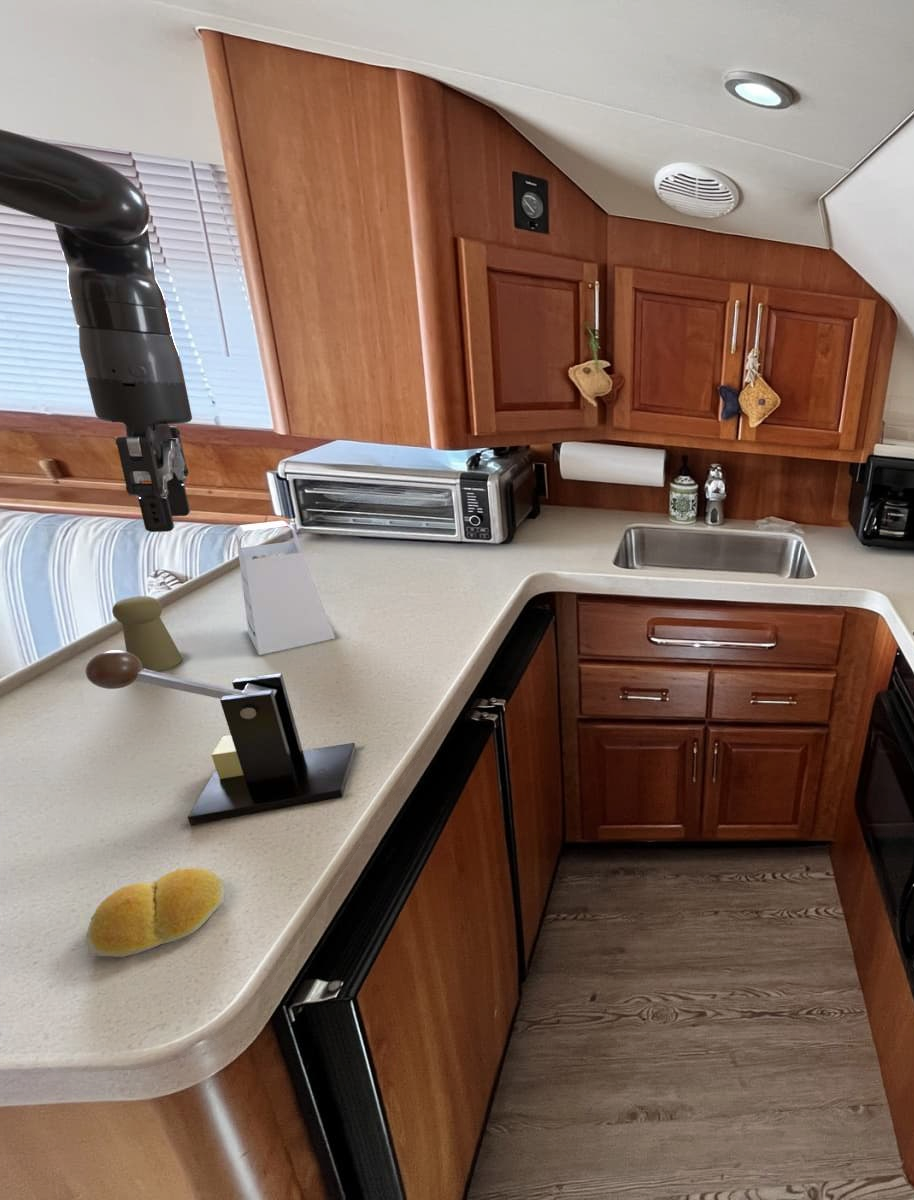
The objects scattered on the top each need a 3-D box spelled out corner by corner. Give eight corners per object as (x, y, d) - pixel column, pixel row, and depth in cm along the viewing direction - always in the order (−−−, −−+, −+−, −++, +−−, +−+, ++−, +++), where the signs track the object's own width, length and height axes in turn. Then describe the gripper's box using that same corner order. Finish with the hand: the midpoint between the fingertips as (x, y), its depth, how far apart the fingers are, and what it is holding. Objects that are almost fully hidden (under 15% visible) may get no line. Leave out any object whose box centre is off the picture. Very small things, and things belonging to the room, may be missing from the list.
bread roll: (227, 925, 59) (215, 894, 58) (88, 977, 54) (71, 944, 52) (227, 869, 65) (217, 839, 64) (102, 911, 60) (87, 879, 58)
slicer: (190, 826, 70) (151, 720, 65) (221, 771, 78) (188, 674, 73) (342, 797, 76) (317, 698, 70) (356, 749, 84) (335, 658, 79)
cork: (184, 665, 100) (163, 601, 95) (130, 677, 95) (105, 610, 91) (180, 651, 103) (159, 588, 99) (128, 662, 99) (104, 597, 95)
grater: (248, 632, 111) (216, 522, 103) (320, 618, 118) (296, 513, 110) (259, 655, 104) (226, 538, 96) (335, 638, 111) (310, 528, 104)
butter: (219, 779, 75) (211, 755, 74) (230, 759, 79) (222, 736, 77) (261, 772, 77) (254, 748, 76) (270, 753, 80) (263, 730, 79)
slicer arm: (71, 689, 63) (84, 656, 63) (91, 671, 67) (104, 639, 66) (259, 726, 72) (272, 697, 71) (269, 708, 75) (282, 680, 74)
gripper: (107, 371, 72) (141, 512, 77) (61, 374, 61) (104, 538, 66) (196, 377, 76) (222, 510, 81) (168, 381, 65) (201, 535, 70)
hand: (169, 523), depth 74 cm, fingers open, 8 cm apart
